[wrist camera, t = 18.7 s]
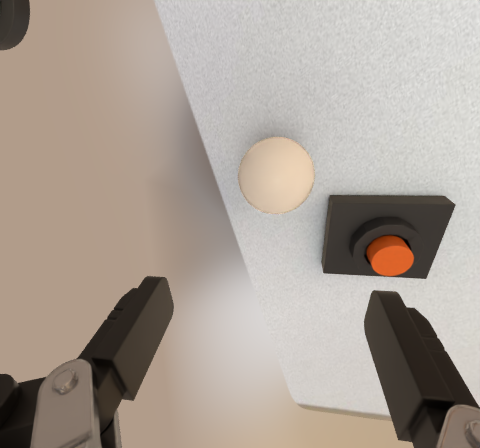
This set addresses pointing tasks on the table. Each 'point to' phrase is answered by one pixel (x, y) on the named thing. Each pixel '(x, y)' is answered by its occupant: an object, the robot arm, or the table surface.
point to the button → (389, 255)
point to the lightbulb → (276, 175)
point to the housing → (383, 230)
